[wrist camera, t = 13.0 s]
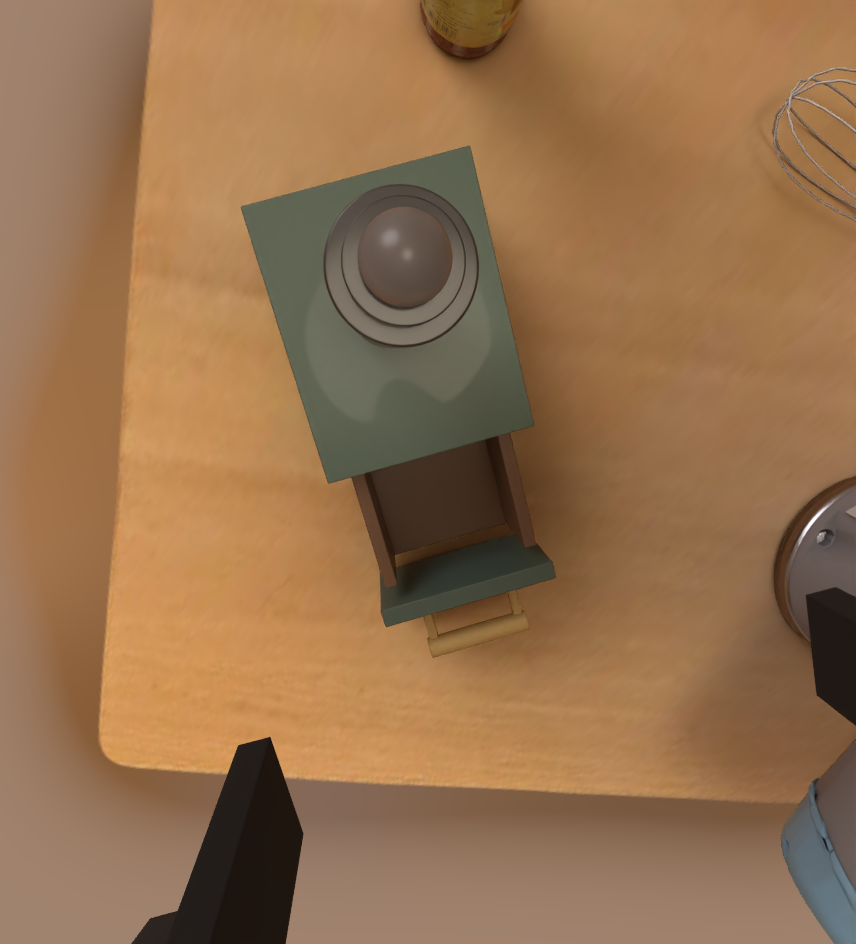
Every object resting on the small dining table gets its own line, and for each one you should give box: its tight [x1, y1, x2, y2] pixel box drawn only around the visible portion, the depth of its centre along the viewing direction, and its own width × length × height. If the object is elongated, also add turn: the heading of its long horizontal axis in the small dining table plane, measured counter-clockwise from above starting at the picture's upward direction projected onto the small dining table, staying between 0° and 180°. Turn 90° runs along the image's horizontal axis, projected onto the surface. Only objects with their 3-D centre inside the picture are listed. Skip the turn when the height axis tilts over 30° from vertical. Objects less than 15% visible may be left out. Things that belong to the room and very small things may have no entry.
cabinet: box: [241, 146, 534, 483], centre depth 37 cm, size 16×13×9 cm
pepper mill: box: [323, 184, 479, 348], centre depth 24 cm, size 5×5×18 cm
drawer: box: [352, 433, 556, 658], centre depth 40 cm, size 19×11×7 cm, turn 15°
